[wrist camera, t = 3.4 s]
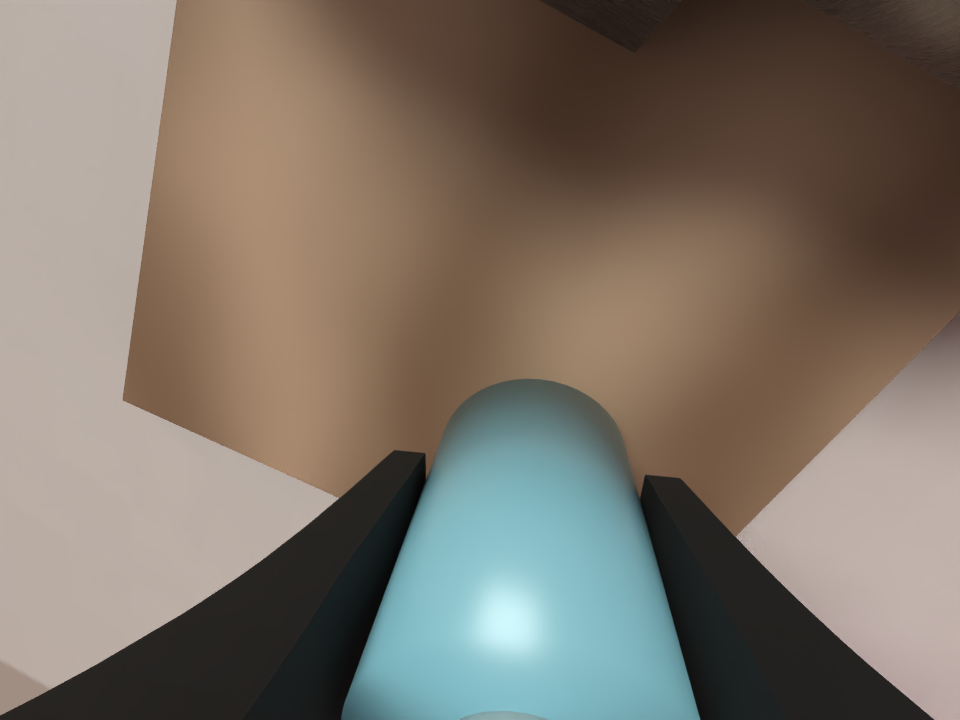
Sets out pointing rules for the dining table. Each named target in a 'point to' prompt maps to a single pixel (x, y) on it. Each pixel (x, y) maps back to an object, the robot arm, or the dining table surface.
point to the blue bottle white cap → (525, 577)
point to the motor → (856, 3)
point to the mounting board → (540, 230)
